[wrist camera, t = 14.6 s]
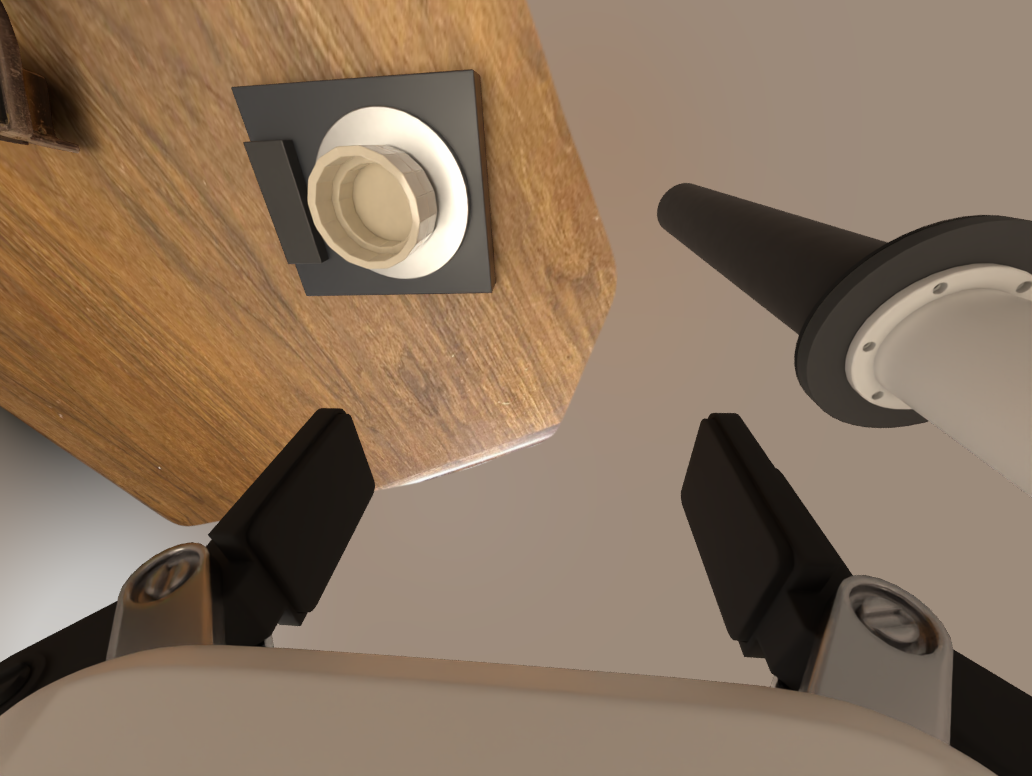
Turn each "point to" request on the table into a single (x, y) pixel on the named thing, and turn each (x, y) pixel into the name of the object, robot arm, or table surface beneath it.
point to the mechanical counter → (24, 98)
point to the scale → (377, 121)
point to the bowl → (371, 204)
